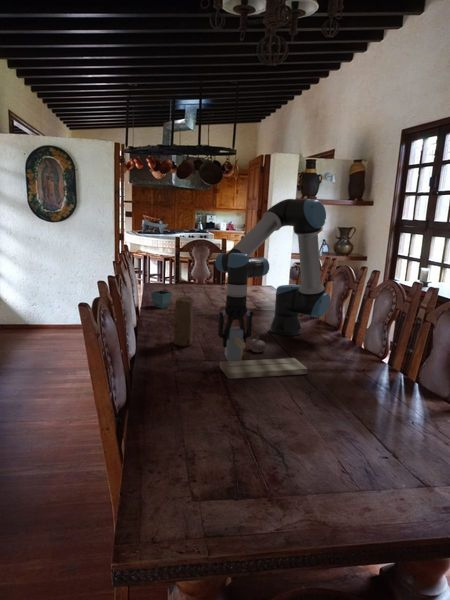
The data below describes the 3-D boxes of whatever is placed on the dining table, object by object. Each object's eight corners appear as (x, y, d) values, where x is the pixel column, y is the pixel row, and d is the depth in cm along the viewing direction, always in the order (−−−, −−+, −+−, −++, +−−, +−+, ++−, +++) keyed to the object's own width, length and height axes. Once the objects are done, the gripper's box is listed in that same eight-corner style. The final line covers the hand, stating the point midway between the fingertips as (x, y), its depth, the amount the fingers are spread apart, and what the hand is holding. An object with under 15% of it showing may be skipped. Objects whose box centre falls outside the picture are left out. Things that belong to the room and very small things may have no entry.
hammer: (237, 356, 177) (239, 326, 174) (248, 368, 165) (250, 336, 162) (225, 357, 175) (226, 327, 173) (235, 368, 163) (236, 336, 161)
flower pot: (172, 307, 266) (172, 292, 264) (162, 309, 258) (162, 294, 256) (160, 305, 270) (160, 290, 268) (150, 307, 263) (150, 292, 261)
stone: (189, 347, 191) (191, 301, 187) (172, 346, 191) (173, 300, 187) (194, 340, 201) (195, 296, 197) (177, 339, 202) (178, 295, 198)
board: (293, 362, 177) (294, 357, 177) (307, 373, 166) (307, 368, 165) (219, 366, 169) (219, 361, 169) (228, 378, 158) (228, 372, 157)
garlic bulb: (257, 347, 196) (258, 329, 194) (270, 351, 191) (271, 332, 189) (245, 350, 191) (246, 331, 189) (258, 354, 186) (259, 335, 184)
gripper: (256, 292, 175) (252, 350, 179) (210, 293, 170) (208, 352, 175) (262, 296, 168) (259, 356, 172) (215, 297, 163) (213, 359, 167)
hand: (233, 354), depth 173 cm, fingers closed on hammer, 5 cm apart
